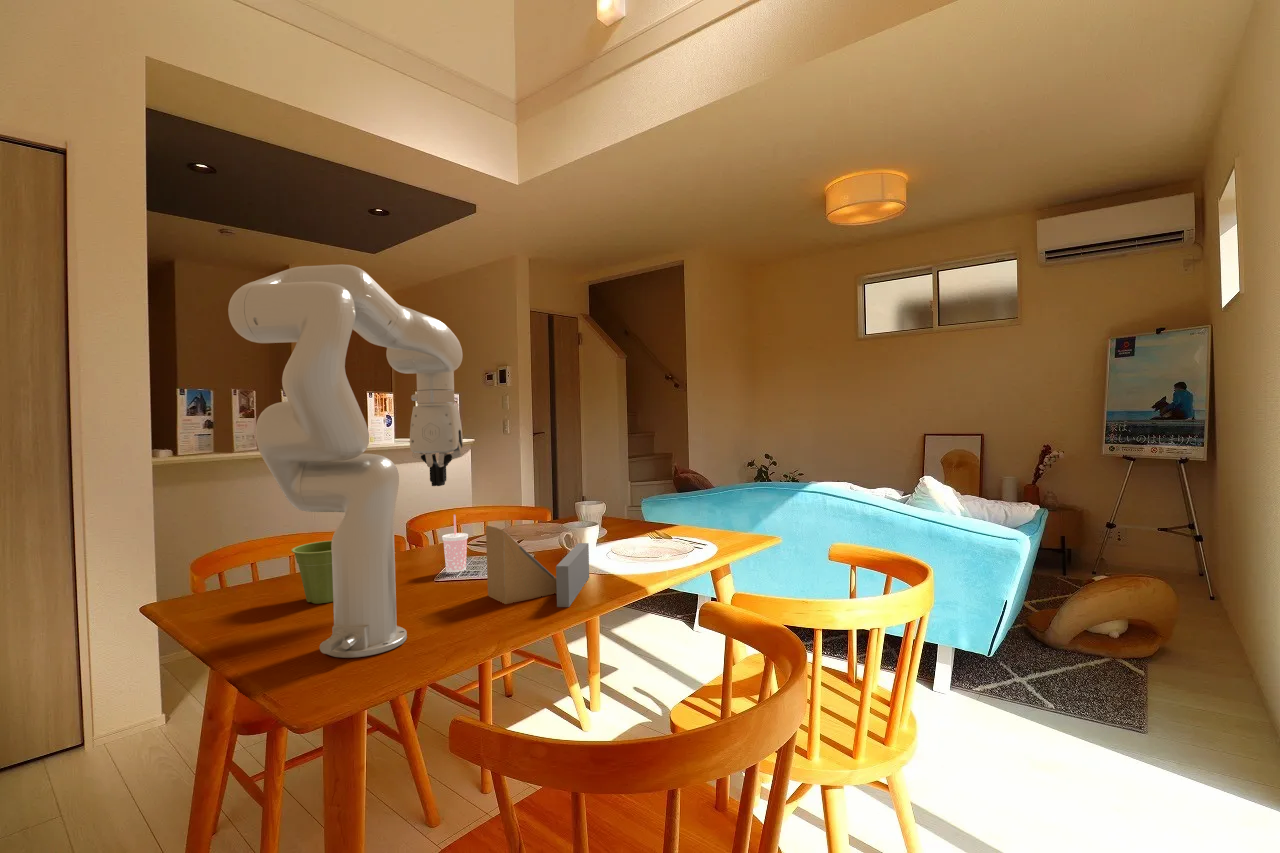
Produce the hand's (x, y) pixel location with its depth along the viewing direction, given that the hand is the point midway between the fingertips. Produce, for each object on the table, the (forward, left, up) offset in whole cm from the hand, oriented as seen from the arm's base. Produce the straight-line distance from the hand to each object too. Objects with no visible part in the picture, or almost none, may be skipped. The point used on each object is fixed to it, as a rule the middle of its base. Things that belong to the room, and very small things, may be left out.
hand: (438, 485), depth 133 cm
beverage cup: (+18, +4, -23) cm, 30 cm away
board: (+2, -28, -23) cm, 37 cm away
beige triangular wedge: (+1, -19, -24) cm, 30 cm away
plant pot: (-5, +23, -23) cm, 33 cm away
